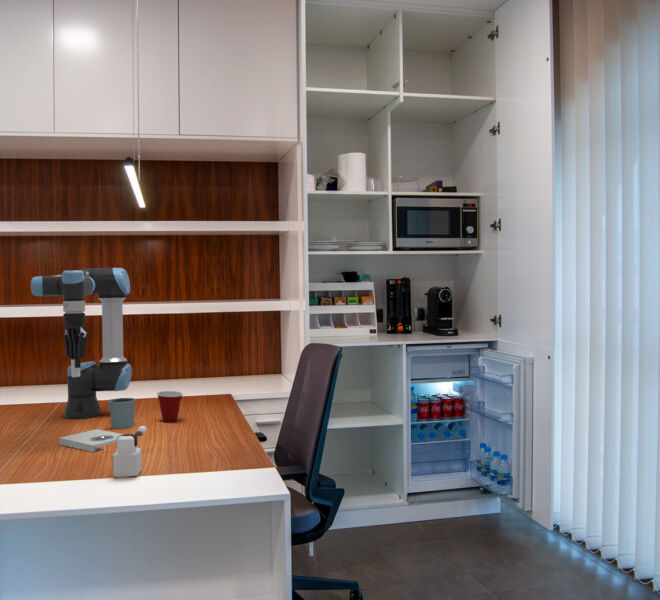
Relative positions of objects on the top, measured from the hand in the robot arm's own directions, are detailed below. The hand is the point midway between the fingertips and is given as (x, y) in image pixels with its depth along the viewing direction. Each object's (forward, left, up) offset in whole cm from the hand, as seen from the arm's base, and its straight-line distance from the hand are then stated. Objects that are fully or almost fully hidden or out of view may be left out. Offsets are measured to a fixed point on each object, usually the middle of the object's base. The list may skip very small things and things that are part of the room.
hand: (75, 376), depth 243 cm
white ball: (+12, +20, -22) cm, 32 cm away
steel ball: (+12, +2, -22) cm, 26 cm away
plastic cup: (+2, +43, -24) cm, 49 cm away
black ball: (+16, +15, -23) cm, 32 cm away
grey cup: (-2, +22, -24) cm, 33 cm away
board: (+8, +2, -24) cm, 25 cm away
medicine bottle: (+49, -16, -24) cm, 57 cm away
